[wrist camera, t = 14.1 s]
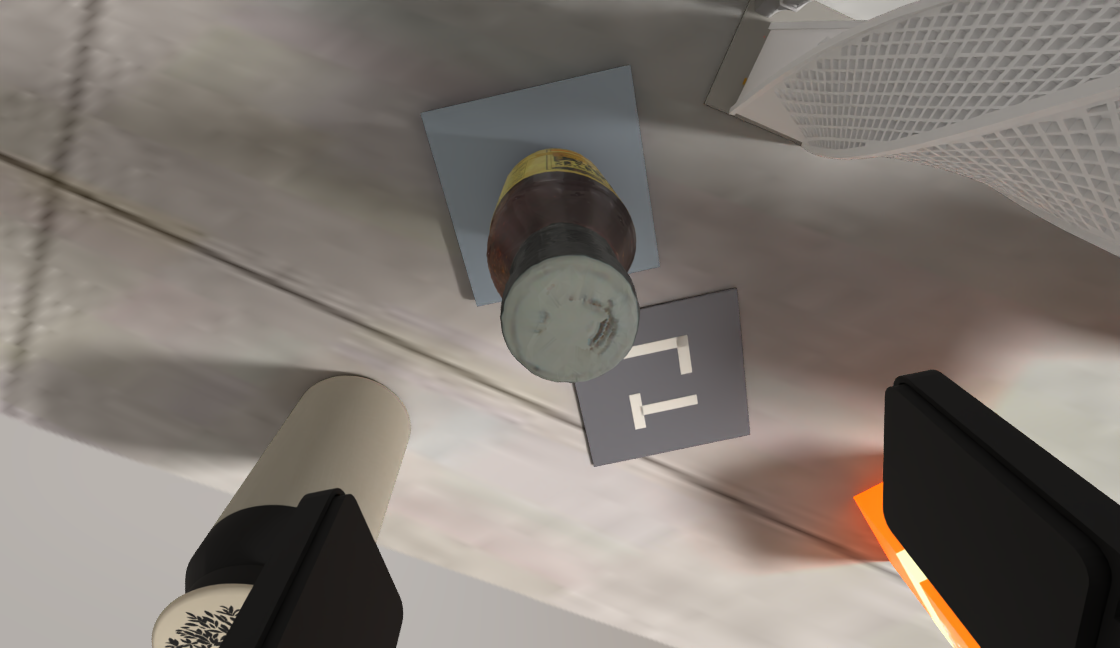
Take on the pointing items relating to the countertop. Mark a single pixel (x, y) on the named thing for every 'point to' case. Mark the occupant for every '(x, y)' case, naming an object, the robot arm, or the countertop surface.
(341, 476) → the travel mug
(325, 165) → the countertop surface
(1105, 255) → the countertop surface
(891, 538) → the orange juice
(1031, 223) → the countertop surface
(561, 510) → the countertop surface
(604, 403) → the tile
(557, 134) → the pad
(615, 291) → the sauce bottle
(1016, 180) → the skyscraper
